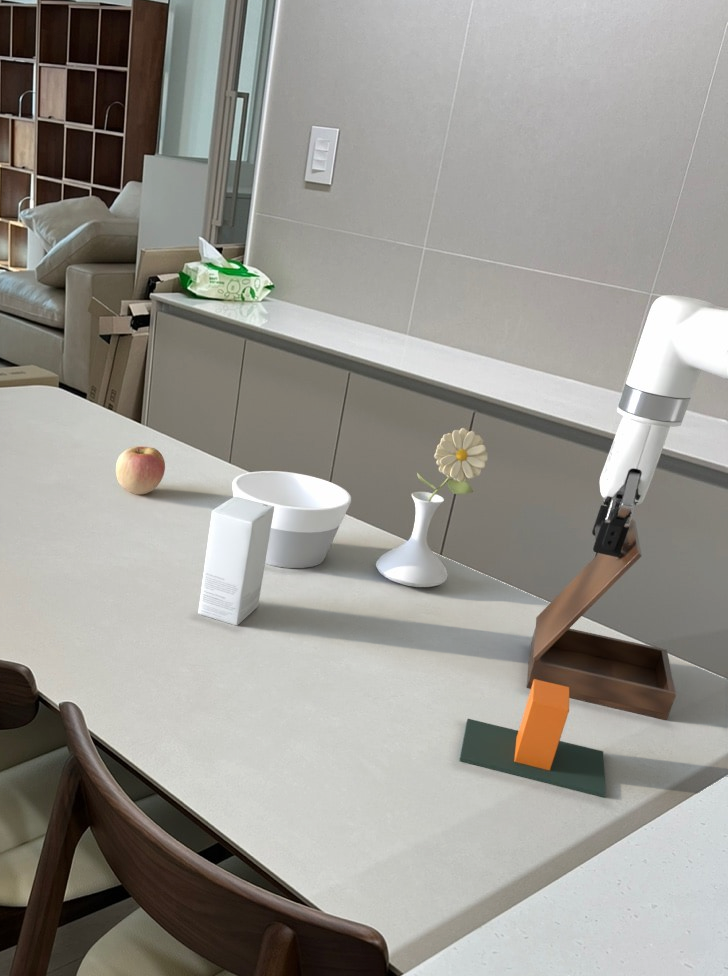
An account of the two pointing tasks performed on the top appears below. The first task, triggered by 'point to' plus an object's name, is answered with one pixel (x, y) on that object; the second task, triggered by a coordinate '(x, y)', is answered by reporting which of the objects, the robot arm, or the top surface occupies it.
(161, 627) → the top surface
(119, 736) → the top surface
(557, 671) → the chest
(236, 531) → the cosmetic box
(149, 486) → the apple
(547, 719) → the orange block
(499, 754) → the mat
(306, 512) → the bowl
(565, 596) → the lid
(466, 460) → the flower in vase
